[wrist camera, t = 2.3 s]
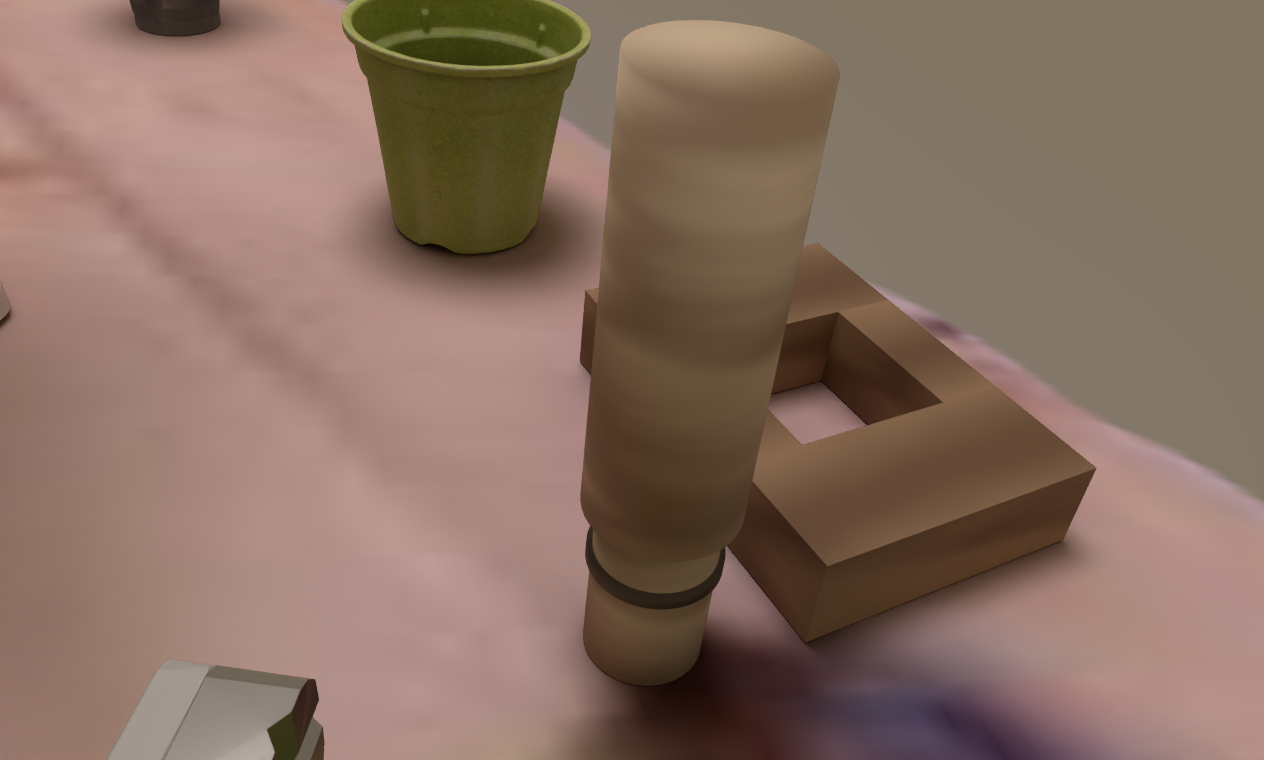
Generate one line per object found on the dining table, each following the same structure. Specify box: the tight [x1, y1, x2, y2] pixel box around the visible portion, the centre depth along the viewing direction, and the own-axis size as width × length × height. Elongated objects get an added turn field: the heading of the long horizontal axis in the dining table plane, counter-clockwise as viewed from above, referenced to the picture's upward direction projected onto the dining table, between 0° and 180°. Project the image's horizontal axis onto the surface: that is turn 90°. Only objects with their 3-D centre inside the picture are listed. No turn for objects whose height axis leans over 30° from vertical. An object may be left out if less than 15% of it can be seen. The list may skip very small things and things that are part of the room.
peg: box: [581, 20, 840, 686], centre depth 24 cm, size 4×4×16 cm
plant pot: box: [342, 0, 591, 254], centre depth 44 cm, size 9×9×9 cm
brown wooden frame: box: [580, 243, 1096, 643], centre depth 35 cm, size 14×10×3 cm
